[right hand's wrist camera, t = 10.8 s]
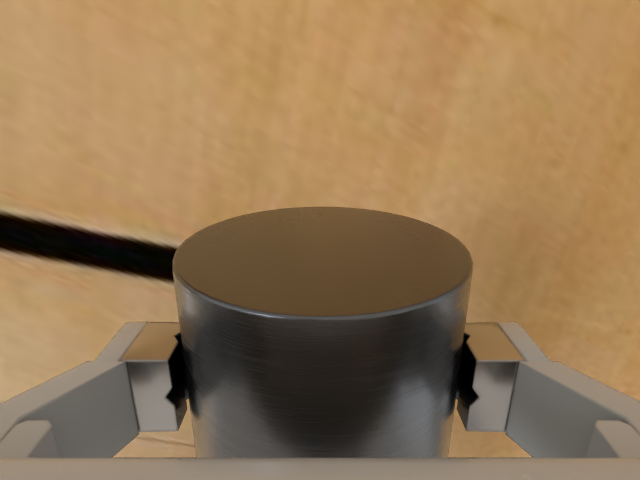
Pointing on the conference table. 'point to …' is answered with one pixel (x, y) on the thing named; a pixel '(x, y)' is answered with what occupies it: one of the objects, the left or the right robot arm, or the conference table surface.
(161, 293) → the conference table surface
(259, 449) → the rod
